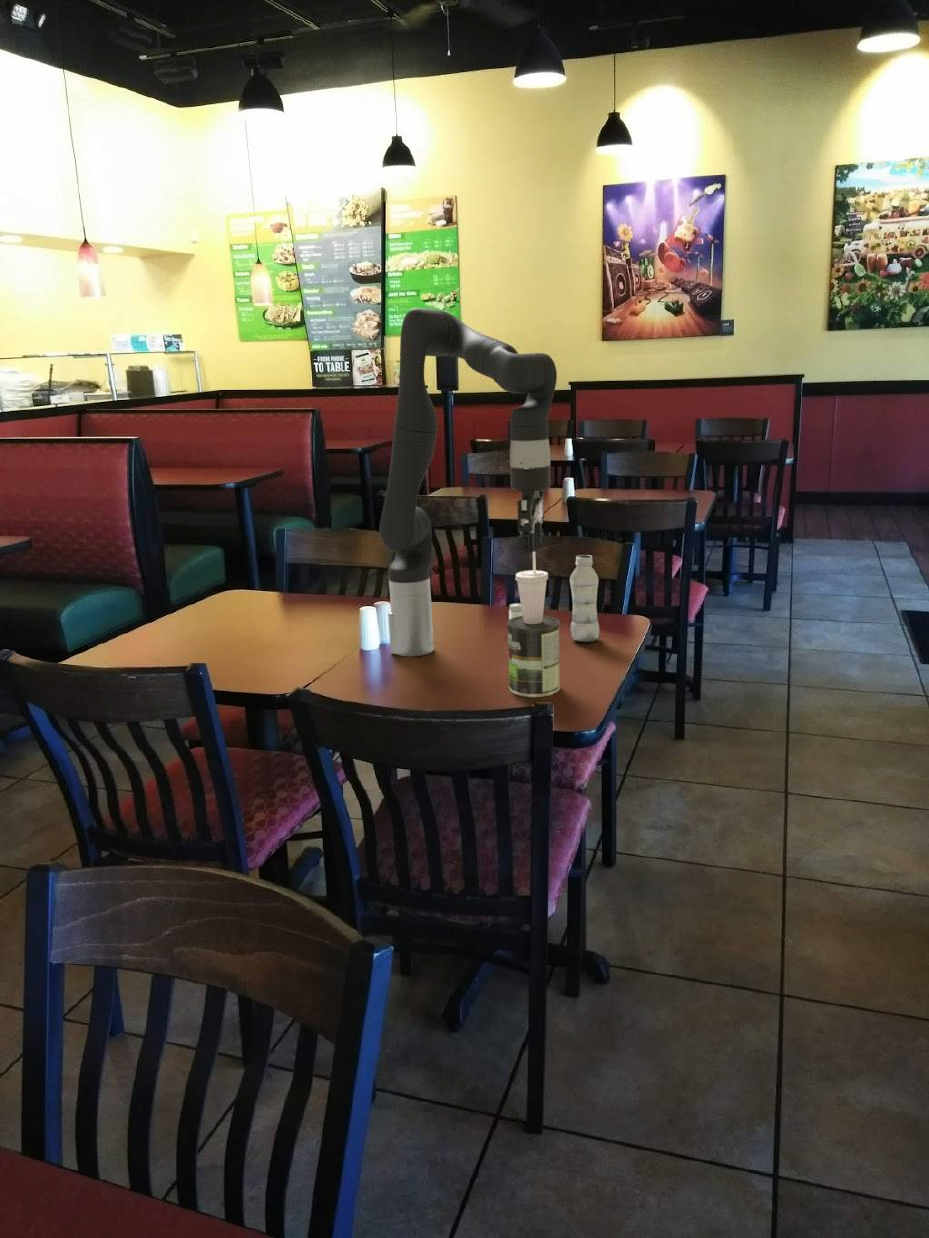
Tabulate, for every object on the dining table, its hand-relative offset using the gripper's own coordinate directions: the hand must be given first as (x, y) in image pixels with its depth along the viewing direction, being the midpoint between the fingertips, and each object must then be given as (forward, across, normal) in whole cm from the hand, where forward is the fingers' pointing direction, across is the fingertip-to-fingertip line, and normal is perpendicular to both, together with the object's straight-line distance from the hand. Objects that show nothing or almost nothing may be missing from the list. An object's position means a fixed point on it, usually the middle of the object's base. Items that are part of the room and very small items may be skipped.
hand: (531, 548), depth 180 cm
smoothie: (+15, 0, 0) cm, 15 cm away
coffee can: (+29, 0, 0) cm, 29 cm away
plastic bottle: (+29, -33, +6) cm, 44 cm away
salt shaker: (+29, -33, -10) cm, 45 cm away
